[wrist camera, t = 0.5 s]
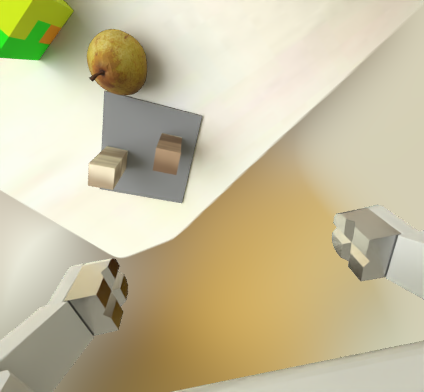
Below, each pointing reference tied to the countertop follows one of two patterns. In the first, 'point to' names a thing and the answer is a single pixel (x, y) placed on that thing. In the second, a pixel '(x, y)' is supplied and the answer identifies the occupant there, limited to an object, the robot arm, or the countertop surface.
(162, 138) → the walnut block
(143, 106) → the mat
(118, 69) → the fruit
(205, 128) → the countertop surface
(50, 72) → the countertop surface
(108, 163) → the ash block
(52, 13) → the puzzle toy
